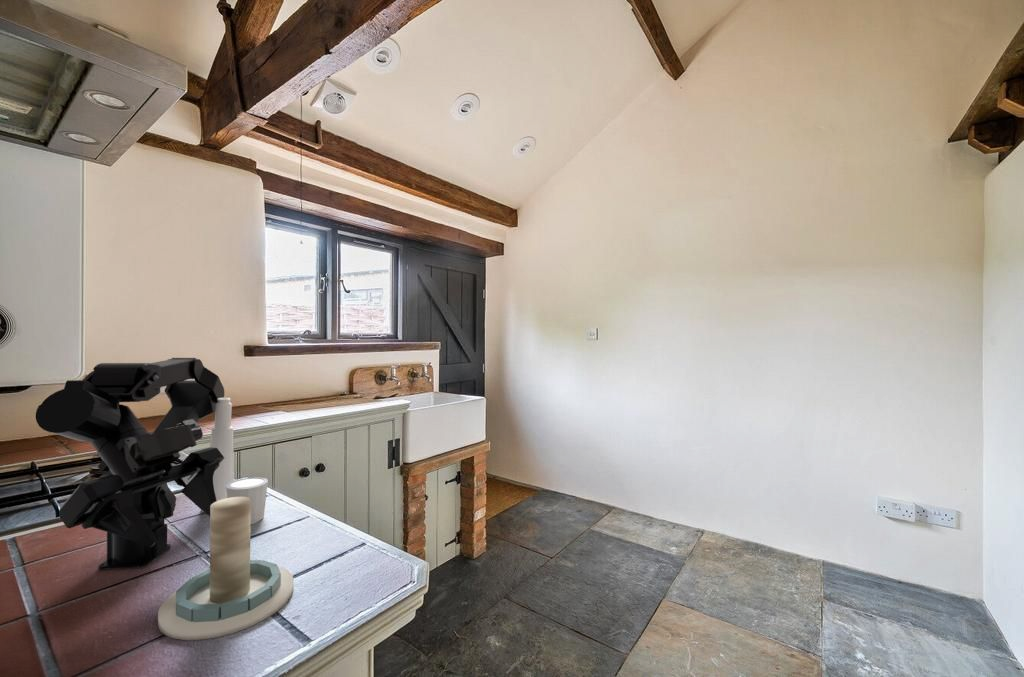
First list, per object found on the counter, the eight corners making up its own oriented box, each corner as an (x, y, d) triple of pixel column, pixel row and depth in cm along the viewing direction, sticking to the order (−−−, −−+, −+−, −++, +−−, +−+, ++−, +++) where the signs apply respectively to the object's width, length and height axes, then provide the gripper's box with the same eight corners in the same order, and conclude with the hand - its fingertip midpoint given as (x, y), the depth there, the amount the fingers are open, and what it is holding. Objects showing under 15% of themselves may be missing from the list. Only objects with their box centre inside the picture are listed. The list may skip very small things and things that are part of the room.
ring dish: (126, 644, 51) (126, 622, 51) (202, 573, 65) (202, 556, 65) (265, 635, 52) (265, 614, 52) (308, 568, 67) (308, 552, 67)
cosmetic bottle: (239, 500, 93) (244, 396, 93) (232, 512, 88) (237, 400, 88) (205, 503, 91) (210, 396, 91) (196, 514, 86) (201, 400, 86)
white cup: (248, 528, 81) (248, 490, 80) (216, 525, 82) (216, 487, 82) (275, 513, 87) (276, 478, 87) (245, 510, 89) (245, 475, 89)
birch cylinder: (202, 604, 56) (202, 510, 56) (221, 584, 61) (221, 497, 61) (239, 602, 57) (240, 508, 57) (256, 583, 61) (256, 496, 61)
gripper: (78, 416, 53) (152, 519, 50) (215, 395, 71) (274, 470, 69) (28, 477, 54) (97, 579, 52) (174, 442, 73) (230, 516, 70)
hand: (187, 529), depth 61 cm, fingers open, 9 cm apart
